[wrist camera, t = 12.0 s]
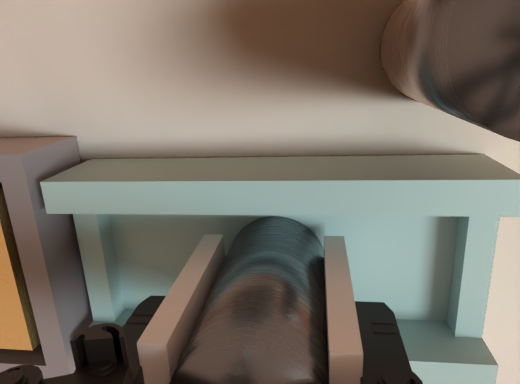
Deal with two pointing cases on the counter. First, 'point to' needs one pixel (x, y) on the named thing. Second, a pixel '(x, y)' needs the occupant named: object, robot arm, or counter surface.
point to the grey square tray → (45, 251)
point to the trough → (320, 222)
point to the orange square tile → (13, 291)
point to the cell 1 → (263, 312)
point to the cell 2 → (458, 59)
